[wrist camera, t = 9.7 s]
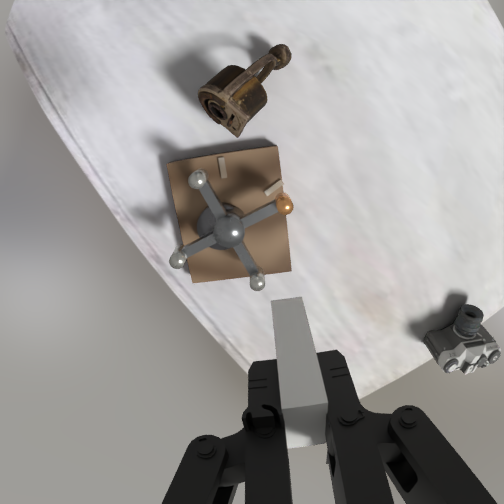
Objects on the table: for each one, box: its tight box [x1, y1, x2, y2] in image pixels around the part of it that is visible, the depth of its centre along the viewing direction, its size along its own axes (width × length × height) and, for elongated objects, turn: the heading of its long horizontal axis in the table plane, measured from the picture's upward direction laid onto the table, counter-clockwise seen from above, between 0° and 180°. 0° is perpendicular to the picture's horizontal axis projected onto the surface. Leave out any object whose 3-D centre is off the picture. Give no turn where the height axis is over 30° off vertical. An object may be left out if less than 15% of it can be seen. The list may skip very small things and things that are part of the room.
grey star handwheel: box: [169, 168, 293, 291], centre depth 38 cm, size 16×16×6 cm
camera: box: [424, 304, 501, 375], centre depth 46 cm, size 16×10×10 cm, turn 88°
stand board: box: [167, 145, 291, 283], centre depth 41 cm, size 17×14×2 cm
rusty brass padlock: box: [198, 44, 291, 138], centre depth 31 cm, size 7×13×10 cm, turn 153°
